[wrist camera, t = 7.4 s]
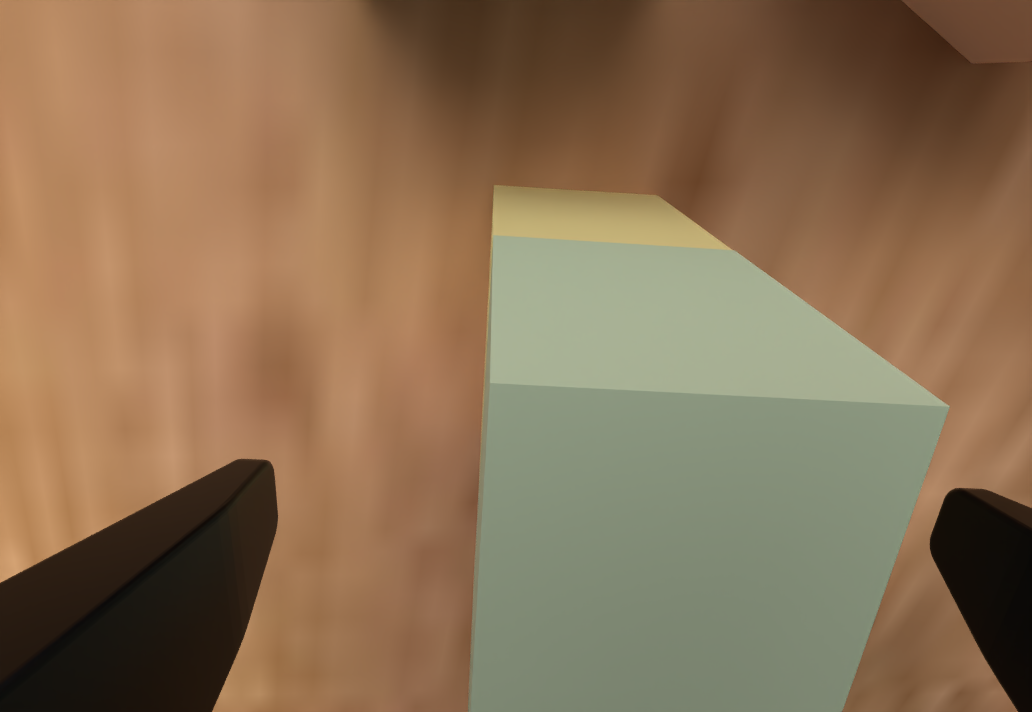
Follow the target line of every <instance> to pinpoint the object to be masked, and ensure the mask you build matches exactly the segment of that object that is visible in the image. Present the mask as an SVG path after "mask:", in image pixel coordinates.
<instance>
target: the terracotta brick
mask: <svg viewBox="0 0 1032 712" xmlns="http://www.w3.org/2000/svg"><path fill="white" fill-rule="evenodd" d="M902 1H903V2H904V3H905V4H906V5H907V6H908V7H909V8H910V9H912V10H913V11H914V12H915V13H916V14H917V15H918V16H919V17H920V18H922V19H923V20H924V21H925V22H926V23H927V24H928V25H929V26H930V27H932V28H933V29H934V30H935V31H936V32H937V33H938V34H939V35H940V36H942V37H943V38H944V39H945V40H946V41H947V42H948V43H949V44H950V45H952V46H953V47H954V48H955V49H956V50H957V51H958V52H959V53H960V54H962V55H963V56H964V57H965V58H966V59H967V60H968V61H969V62H970V63H972V64H976V63H1006V62H1032V0H902Z"/></svg>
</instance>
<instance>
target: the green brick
mask: <svg viewBox="0 0 1032 712" xmlns="http://www.w3.org/2000/svg"><path fill="white" fill-rule="evenodd" d="M949 408H950V406H948V405H947V404H945V403H944V402H943V401H941V400H940V399H939V398H937V397H936V396H934V395H933V394H932V393H930V392H929V391H927V390H926V389H925V388H923V387H922V386H921V385H919V384H918V383H916V382H915V381H914V380H912V379H911V378H910V377H908V376H907V375H905V374H904V373H903V372H901V371H900V370H899V369H897V368H896V367H894V366H893V365H892V364H890V363H889V362H888V361H886V360H885V359H883V358H882V357H881V356H879V355H878V354H877V353H875V352H874V351H872V350H871V349H870V348H868V347H867V346H866V345H864V344H863V343H861V342H860V341H859V340H857V339H856V338H854V337H853V336H852V335H850V334H849V333H848V332H846V331H845V330H843V329H842V328H841V327H839V326H838V325H837V324H835V323H834V322H832V321H831V320H830V319H828V318H827V317H826V316H824V315H823V314H821V313H820V312H819V311H817V310H816V309H815V308H813V307H812V306H810V305H809V304H808V303H806V302H805V301H804V300H802V299H801V298H799V297H798V296H797V295H795V294H794V293H793V292H791V291H790V290H788V289H787V288H786V287H784V286H783V285H781V284H780V283H779V282H777V281H776V280H775V279H773V278H772V277H770V276H769V275H768V274H766V273H765V272H764V271H762V270H761V269H759V268H758V267H757V266H755V265H754V264H753V263H751V262H750V261H748V260H747V259H746V258H744V257H743V256H742V255H740V254H739V253H737V252H736V251H735V250H721V249H705V248H689V247H673V246H657V245H641V244H625V243H609V242H593V241H577V240H561V239H545V238H529V237H514V236H498V235H493V248H492V266H491V284H490V301H489V319H488V337H487V355H486V372H485V390H484V408H483V425H482V443H481V461H480V479H479V496H478V514H477V532H476V550H475V567H474V588H473V610H472V632H471V654H470V676H469V698H468V712H842V710H843V708H844V705H845V702H846V699H847V696H848V693H849V691H850V688H851V685H852V682H853V679H854V676H855V674H856V671H857V668H858V665H859V662H860V659H861V657H862V654H863V651H864V648H865V645H866V643H867V640H868V637H869V634H870V631H871V628H872V626H873V623H874V620H875V617H876V614H877V611H878V609H879V606H880V603H881V600H882V597H883V594H884V592H885V589H886V586H887V583H888V580H889V577H890V575H891V572H892V569H893V566H894V563H895V560H896V558H897V555H898V552H899V549H900V546H901V543H902V541H903V538H904V535H905V532H906V529H907V526H908V524H909V521H910V518H911V515H912V512H913V509H914V507H915V504H916V501H917V498H918V495H919V492H920V490H921V487H922V484H923V481H924V478H925V475H926V473H927V470H928V467H929V464H930V461H931V458H932V456H933V453H934V450H935V447H936V444H937V441H938V439H939V436H940V433H941V430H942V427H943V424H944V422H945V419H946V416H947V413H948V410H949Z"/></svg>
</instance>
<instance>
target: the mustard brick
mask: <svg viewBox="0 0 1032 712" xmlns="http://www.w3.org/2000/svg"><path fill="white" fill-rule="evenodd" d="M493 235H498V236H514V237H529V238H545V239H561V240H577V241H593V242H609V243H625V244H641V245H657V246H673V247H689V248H705V249H721V250H732V249H730V248H729V247H728V246H726V245H725V244H723V243H722V242H721V241H719V240H718V239H717V238H715V237H714V236H713V235H711V234H710V233H708V232H707V231H706V230H704V229H703V228H702V227H700V226H699V225H697V224H696V223H695V222H693V221H692V220H691V219H689V218H688V217H687V216H685V215H684V214H682V213H681V212H680V211H678V210H677V209H676V208H674V207H673V206H671V205H670V204H669V203H667V202H666V201H665V200H663V199H662V198H661V197H659V196H658V195H646V194H630V193H614V192H598V191H582V190H565V189H549V188H533V187H517V186H501V185H494V192H493V211H492V231H491V251H490V270H489V290H488V310H487V330H486V349H485V369H484V389H483V408H484V390H485V372H486V355H487V337H488V319H489V301H490V284H491V266H492V248H493ZM482 425H483V409H482ZM481 443H482V428H481ZM480 461H481V450H480ZM479 479H480V473H479Z"/></svg>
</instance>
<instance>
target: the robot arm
mask: <svg viewBox="0 0 1032 712" xmlns="http://www.w3.org/2000/svg"><path fill="white" fill-rule="evenodd" d="M277 523H278V510H277V498H276V486H275V475H274V469H273V466H272V464H271V463H270V462H269V461H268V460H257V459H238V460H235V461H233V462H231V463H229V464H228V465H226V466H224V467H222V468H220V469H218V470H216V471H214V472H212V473H210V474H208V475H206V476H205V477H203V478H201V479H199V480H197V481H195V482H193V483H191V484H189V485H187V486H185V487H183V488H181V489H180V490H178V491H176V492H174V493H172V494H170V495H168V496H166V497H164V498H162V499H160V500H158V501H157V502H155V503H153V504H151V505H149V506H147V507H145V508H143V509H141V510H139V511H137V512H135V513H133V514H132V515H130V516H128V517H126V518H124V519H122V520H120V521H118V522H116V523H114V524H112V525H110V526H109V527H107V528H105V529H103V530H101V531H99V532H97V533H95V534H93V535H91V536H89V537H87V538H85V539H84V540H82V541H80V542H78V543H76V544H74V545H72V546H70V547H68V548H66V549H64V550H62V551H60V552H59V553H57V554H55V555H53V556H51V557H49V558H47V559H45V560H43V561H41V562H39V563H37V564H36V565H34V566H32V567H30V568H28V569H26V570H24V571H22V572H20V573H18V574H16V575H14V576H12V577H11V578H9V579H7V580H5V581H3V582H1V583H0V712H212V710H213V708H214V706H215V704H216V701H217V699H218V697H219V694H220V692H221V690H222V688H223V685H224V683H225V681H226V678H227V676H228V674H229V671H230V669H231V667H232V665H233V662H234V660H235V658H236V655H237V653H238V650H239V648H240V645H241V643H242V640H243V638H244V635H245V632H246V629H247V626H248V623H249V620H250V616H251V613H252V610H253V606H254V603H255V600H256V597H257V593H258V590H259V587H260V583H261V580H262V577H263V573H264V570H265V567H266V564H267V560H268V557H269V554H270V550H271V547H272V544H273V540H274V537H275V534H276V529H277ZM930 551H931V555H932V557H933V559H934V561H935V563H936V565H937V567H938V569H939V571H940V573H941V575H942V577H943V579H944V581H945V583H946V585H947V587H948V589H949V591H950V593H951V594H952V596H953V598H954V600H955V602H956V604H957V606H958V608H959V610H960V612H961V614H962V616H963V618H964V620H965V622H966V624H967V626H968V627H969V629H970V631H971V633H972V635H973V637H974V639H975V641H976V643H977V645H978V647H979V648H980V650H981V652H982V654H983V656H984V658H985V660H986V661H987V663H988V664H989V666H990V668H991V669H992V671H993V673H994V674H995V676H996V678H997V679H998V681H999V682H1000V684H1001V686H1002V687H1003V689H1004V690H1005V692H1006V693H1007V695H1008V697H1009V698H1010V700H1011V701H1012V703H1013V704H1014V706H1015V708H1016V709H1017V711H1018V712H1032V508H1030V507H1027V506H1025V505H1022V504H1020V503H1017V502H1015V501H1013V500H1010V499H1008V498H1005V497H1003V496H1001V495H998V494H996V493H993V492H991V491H988V490H985V489H972V488H955V489H953V490H951V491H950V492H949V493H948V494H947V495H946V496H945V498H944V501H943V504H942V507H941V509H940V512H939V515H938V518H937V520H936V523H935V526H934V528H933V531H932V534H931V537H930Z"/></svg>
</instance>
